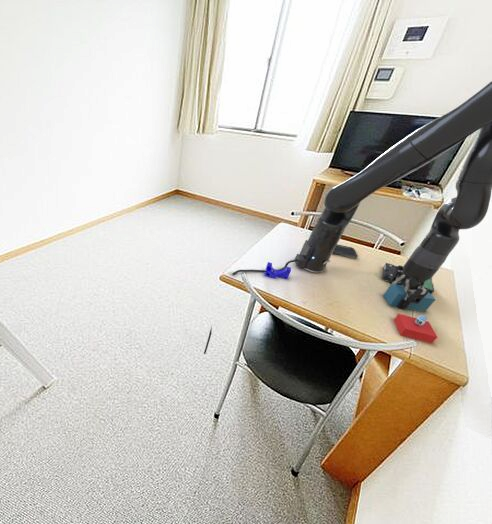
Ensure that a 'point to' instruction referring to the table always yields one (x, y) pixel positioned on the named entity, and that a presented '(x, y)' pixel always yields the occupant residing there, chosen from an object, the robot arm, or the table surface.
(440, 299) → the table surface
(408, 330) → the red rectangular block
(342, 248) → the phone
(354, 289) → the table surface
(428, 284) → the disk drive
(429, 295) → the tissue box
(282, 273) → the cable holder
